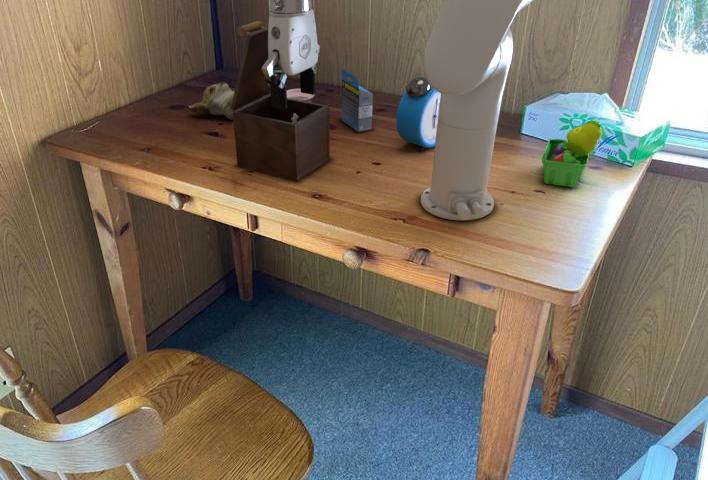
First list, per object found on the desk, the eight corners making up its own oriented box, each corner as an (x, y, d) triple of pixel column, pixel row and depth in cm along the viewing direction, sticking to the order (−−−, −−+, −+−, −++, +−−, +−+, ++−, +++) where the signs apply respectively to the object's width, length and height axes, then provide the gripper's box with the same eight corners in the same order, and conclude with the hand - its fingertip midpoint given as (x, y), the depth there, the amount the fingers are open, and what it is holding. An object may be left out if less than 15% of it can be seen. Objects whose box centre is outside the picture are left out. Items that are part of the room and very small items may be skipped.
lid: (290, 21, 116) (268, 8, 117) (251, 35, 108) (228, 21, 109) (270, 93, 127) (251, 80, 128) (233, 110, 118) (213, 97, 120)
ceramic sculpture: (224, 89, 138) (179, 83, 147) (229, 126, 143) (185, 118, 151) (255, 78, 145) (210, 72, 154) (259, 114, 150) (215, 106, 158)
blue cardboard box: (372, 130, 139) (374, 75, 132) (357, 132, 138) (358, 77, 131) (355, 117, 146) (356, 65, 139) (340, 120, 145) (340, 67, 138)
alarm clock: (416, 157, 126) (422, 84, 118) (392, 149, 130) (396, 77, 121) (453, 139, 133) (461, 69, 125) (430, 132, 137) (436, 63, 129)
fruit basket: (544, 161, 122) (555, 106, 116) (591, 168, 119) (606, 111, 112) (535, 185, 114) (548, 126, 107) (587, 193, 111) (602, 133, 104)
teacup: (273, 113, 151) (271, 88, 147) (321, 110, 151) (321, 85, 148) (276, 130, 141) (274, 104, 137) (327, 127, 141) (327, 101, 138)
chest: (329, 159, 126) (329, 105, 120) (297, 181, 118) (294, 125, 112) (272, 146, 133) (269, 94, 127) (237, 166, 125) (232, 112, 119)
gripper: (279, 15, 99) (284, 117, 109) (333, -4, 111) (334, 90, 121) (242, 11, 103) (251, 111, 113) (299, -6, 115) (302, 85, 124)
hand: (294, 100), depth 117 cm, fingers open, 9 cm apart
